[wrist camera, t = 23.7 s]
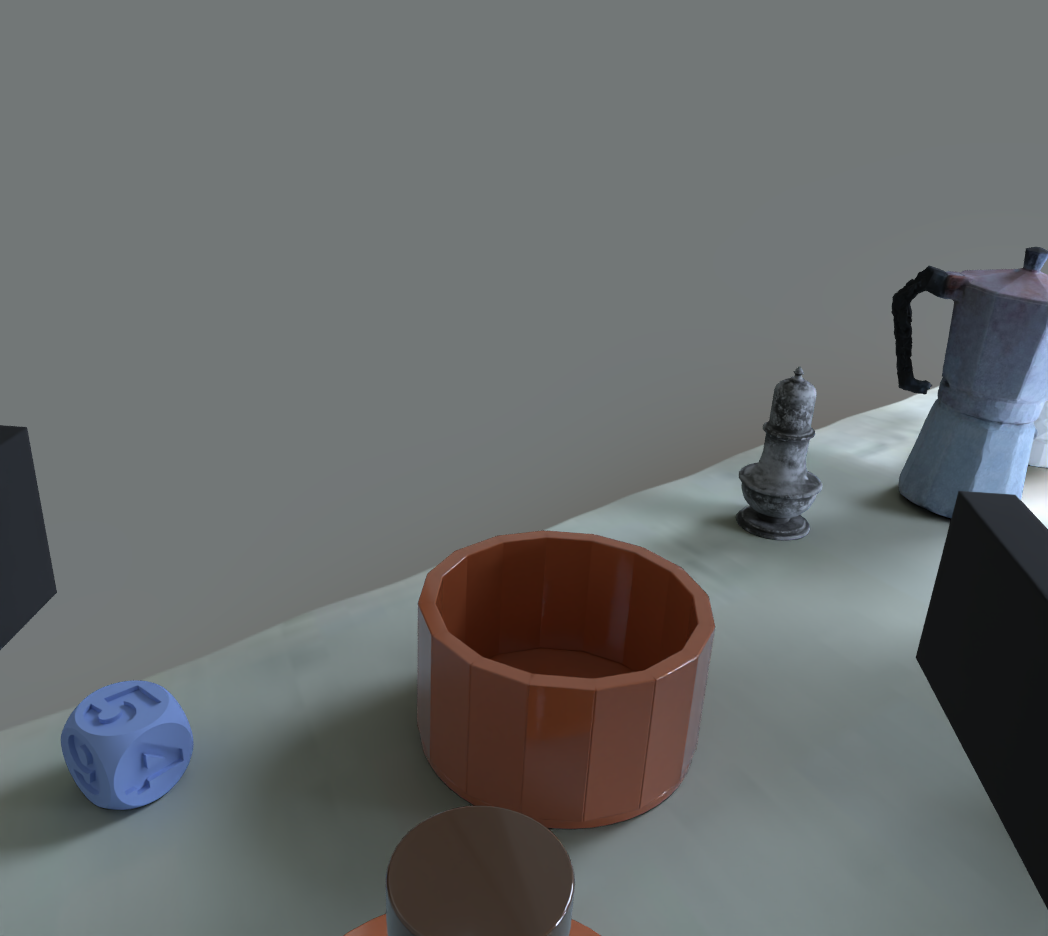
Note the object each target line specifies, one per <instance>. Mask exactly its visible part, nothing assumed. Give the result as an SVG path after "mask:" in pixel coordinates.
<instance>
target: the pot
mask: <svg viewBox="0 0 1048 936" xmlns="http://www.w3.org/2000/svg"><path fill="white" fill-rule="evenodd" d="M714 632H715V623H714V619H713V614H712V609H711V604H710V600H709V596H708V595H707V594H706V592H705V591H704V590H703V589H702V588H701V587H700V586H699V585H698V584H697V583H696V582H695V581H694V580H693V579H692V578H691V577H690V576H689V575H688V573H687V572H686V571H685V570H684V569H682V568H681V567H680V566H678V565H676V564H674V563H672V562H670V561H668V560H666V559H664V558H662V557H661V556H659V555H657V554H655V553H653V552H651V551H649V550H647V549H645V548H642V547H640V546H636V545H632V544H629V543H625V542H621V541H618V540H614V539H610V538H606V537H603V536H599V535H594V534H583V533H570V532H557V531H544V530H543V531H535V532H526V533H517V534H508V535H499V536H495V537H492V538H490V539H487V540H484V541H481V542H478V543H476V544H473V545H470V546H467V547H465V548H462V549H459V550H456V551H454V552H453V553H452V554H451V555H450V556H448V557H447V558H446V559H445V560H443V561H442V562H441V563H440V564H438V565H437V566H436V567H435V568H434V569H432V570H431V571H430V572H429V573H428V574H427V576H426V579H425V583H424V586H423V589H422V592H421V595H420V598H419V601H418V678H417V726H418V728H419V731H420V739H421V743H422V747H423V751H424V753H425V756H426V758H427V760H428V762H429V764H430V765H431V767H432V768H433V770H434V771H435V773H436V774H437V776H438V777H439V778H440V779H441V780H442V781H443V782H444V783H445V784H446V785H447V786H448V787H449V788H450V789H451V790H453V791H454V792H455V793H456V794H458V795H459V796H460V797H461V798H463V799H465V800H466V801H468V802H470V803H471V804H473V805H474V806H494V807H502V808H506V809H510V810H514V811H516V812H519V813H522V814H524V815H527V816H529V817H531V818H533V819H534V820H536V821H538V822H539V823H541V824H542V825H544V826H545V827H546V828H556V829H581V828H593V827H599V826H605V825H611V824H615V823H618V822H622V821H625V820H629V819H631V818H633V817H636V816H638V815H641V814H643V813H645V812H647V811H649V810H650V809H652V808H654V807H656V806H657V805H659V804H660V803H661V802H663V801H664V800H665V799H666V798H668V797H669V796H670V795H671V794H672V793H673V792H674V791H675V790H676V789H677V787H678V786H679V785H680V784H681V782H682V781H683V779H684V778H685V776H686V774H687V772H688V770H689V767H690V764H691V762H692V756H693V754H694V752H695V750H696V748H697V742H698V735H699V729H700V722H701V716H702V709H703V703H704V696H705V690H706V683H707V677H708V671H709V664H710V658H711V651H712V645H713V638H714Z"/></svg>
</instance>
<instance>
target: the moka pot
mask: <svg viewBox="0 0 1048 936" xmlns="http://www.w3.org/2000/svg"><path fill="white" fill-rule="evenodd" d="M1047 258H1048V251H1047V250H1045V249H1043V248H1040V247H1031V248H1026V252H1025V260H1024V267H1023V268H1021V269H997V270H965V271H962V272H961V273H960V272H949V271H948V272H945V271H943V270H940V269H938V268H935V267H932V266H928V267H927V268H926V269H925V270H923V271H922V272H919V273H918V275H917V277H916V278H915V280H913V279H912V280H910V281H909V282H908V283H906V286H904V287H903V288H902V289H900V290H899V291H898V292H897V293H895V294H894V296H893V303H892V314H893V316H894V335H895V339H896V356H897V375H898V381H899V388H902V389H903V390H908V391H911V392H914V393H919V394H927V390H928V389H930V387H931V386H932V385H931V384H930V382H928V381H926V380H925V381H919V380H916V379H915V378H914V376H913V371H912V370H913V369H912V362H911V359H910V357H911V349H912V337H911V335H912V327H911V322H912V319H911V317H912V310H911V306H910V302H911V300H912V299H914V298H915V297H916V295H917V294H918V293H921V292H923V291H928V292H930V293H932V294H934V295H935V296H937V297H940V298H944V299H952V300H953V301H954V308H953V314H952V320H951V326H950V332H949V338H948V343H947V349H946V354H945V360H944V365H943V373H942V376H943V378H942V380H941V382H940V386H939V390H938V399H937V400H936V401H935V403H934V404H933V406H932V408H931V410H930V412H929V414H928V416H927V418H926V420H925V422H924V425H923V427H922V429H921V431H920V433H919V436H918V438H917V440H916V442H915V445H914V447H913V449H912V451H911V453H910V455H909V457H908V459H907V461H906V463H905V466H904V468H903V469H902V472H901V474H900V477H899V492H900V494H902V495H903V496H904V497H906V498H907V499H909V501H911V502H913V503H915V504H916V505H918V506H921V507H923V508H925V509H927V510H929V511H931V512H934V513H936V514H939V515H941V516H945V517H948V518H952V514H953V510H954V507H955V503H956V499H957V495H958V491H969V492H983V493H998V494H1013V495H1016V496H1017V497H1018V498H1019V499H1020V500H1021V497H1022V492H1023V487H1024V482H1025V477H1026V472H1027V467H1028V462H1029V458H1030V452H1031V447H1032V443H1033V440H1034V439H1035V438H1036V437H1037V435H1038V431H1037V429H1036V428H1035V425H1034V421H1035V420H1037V419H1038V418H1039V415H1040V413H1041V410H1042V408H1043V405H1044V403H1045V401H1047V400H1048V275H1046V274H1044V273H1042V272H1040V269H1041V268H1042V266H1043V265H1044V263H1045V261H1046V260H1047Z"/></svg>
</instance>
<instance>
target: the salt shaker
mask: <svg viewBox="0 0 1048 936" xmlns="http://www.w3.org/2000/svg"><path fill="white" fill-rule="evenodd" d="M794 373H795V376H794V377H791V378H788V379H785V380H783V381H780V383H778V384H777V385H776V387H775V389H774V396H773V401H772V408H771V414H770V420H769V421H768V422H766V423H764V425H763V430H764V431H765V432H766V437H765V443H764V449H763V453H762V456H761V458H760V460H759V462H758V463H754V464H749V465H747V466H745V467H743V468H742V469H741V470H740V471H739V478H740V480H741V482H742V491H743V495H744V498H745V500H746V501H747V503H748V504H749V505H750V506H749V507H746V508H744V509H742V510H740V511H739V512H738V513H737V516H736V520H737V522H738V524H739V525H740V526H741V527H742V528H743V529H745V530H746V531H748V532H750V533H752V534H755V535H757V536H760V537H764V538H768V539H775V540H794V539H799V538H802V537H804V536H805V535H807V534H808V532H809V531H810V525H809V523H808V522H807V520H806V519H805V518H803V517H802V516H801V515H800V514H801V513H803V512H805V511H806V510H808V509H809V507H810V506H811V504H812V503H813V501H814V500H815V498H816V494H818V493H819V492H820V491H821V489H822V482H821V481H820V480H819V478H818V477H817V476H815V475H814V474H813V473H811V472H809V471H807V468H806V456H807V450H808V445H809V440H810V439H811V438H813V437H814V436H815V431H814V430H813V429H812V428H811V422H812V417H813V411H814V406H815V400H816V389H815V387H814V386H813V385H812V384H811V383H810V382H808V381H806V380H805V379H804V378H802V376H801V375H802V374H803V372H802V369H801V367H798V368H797V369H796V371H794Z"/></svg>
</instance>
